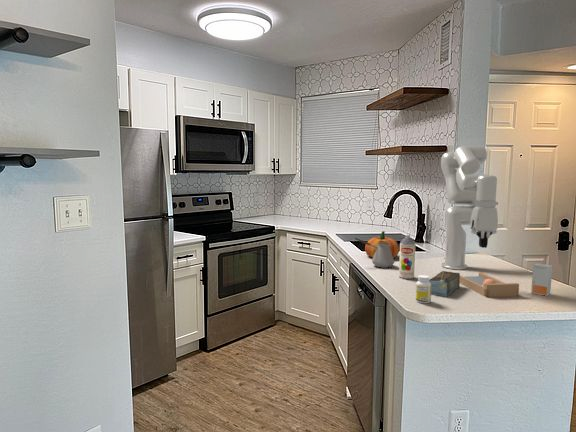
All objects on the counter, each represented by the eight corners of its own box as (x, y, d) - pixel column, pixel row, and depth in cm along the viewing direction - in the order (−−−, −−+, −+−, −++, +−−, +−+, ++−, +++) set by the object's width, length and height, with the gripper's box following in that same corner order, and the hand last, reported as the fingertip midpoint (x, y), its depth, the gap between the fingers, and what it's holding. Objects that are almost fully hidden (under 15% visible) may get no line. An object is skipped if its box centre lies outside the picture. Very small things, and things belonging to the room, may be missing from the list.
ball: (485, 293, 169) (479, 286, 174) (496, 293, 170) (490, 286, 175) (488, 283, 167) (482, 276, 172) (500, 283, 168) (493, 276, 173)
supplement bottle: (422, 298, 160) (423, 273, 159) (433, 302, 156) (434, 277, 154) (412, 300, 158) (413, 275, 157) (423, 304, 153) (424, 278, 152)
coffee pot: (391, 264, 220) (392, 236, 219) (396, 269, 209) (397, 239, 207) (351, 263, 221) (352, 235, 219) (354, 268, 210) (354, 239, 208)
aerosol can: (397, 278, 190) (399, 235, 188) (400, 275, 196) (401, 233, 194) (413, 280, 187) (414, 236, 185) (414, 276, 194) (416, 234, 192)
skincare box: (530, 293, 168) (532, 264, 167) (533, 291, 171) (535, 263, 170) (547, 296, 164) (550, 267, 162) (550, 294, 166) (552, 265, 165)
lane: (453, 279, 189) (453, 268, 189) (480, 278, 190) (481, 268, 190) (486, 297, 162) (486, 284, 162) (518, 296, 164) (519, 284, 163)
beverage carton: (426, 294, 167) (427, 278, 166) (441, 284, 182) (441, 269, 182) (446, 297, 162) (447, 281, 162) (460, 287, 178) (460, 272, 177)
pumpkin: (362, 259, 232) (363, 233, 230) (367, 253, 250) (367, 228, 248) (398, 261, 226) (398, 234, 224) (399, 255, 244) (400, 230, 242)
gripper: (497, 203, 179) (494, 245, 181) (464, 203, 178) (461, 245, 180) (507, 205, 172) (504, 248, 174) (473, 205, 171) (470, 249, 173)
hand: (482, 247), depth 177 cm, fingers closed
